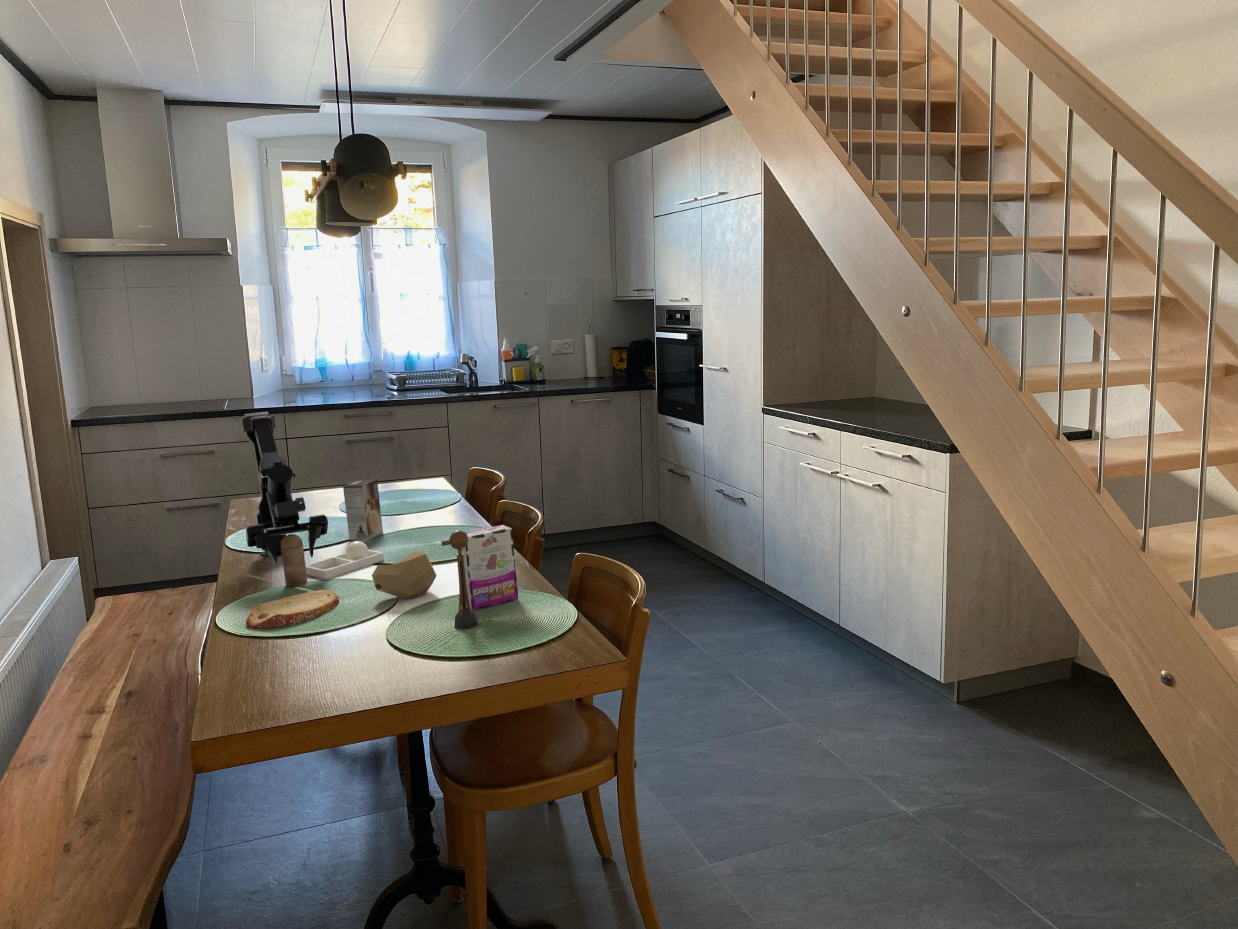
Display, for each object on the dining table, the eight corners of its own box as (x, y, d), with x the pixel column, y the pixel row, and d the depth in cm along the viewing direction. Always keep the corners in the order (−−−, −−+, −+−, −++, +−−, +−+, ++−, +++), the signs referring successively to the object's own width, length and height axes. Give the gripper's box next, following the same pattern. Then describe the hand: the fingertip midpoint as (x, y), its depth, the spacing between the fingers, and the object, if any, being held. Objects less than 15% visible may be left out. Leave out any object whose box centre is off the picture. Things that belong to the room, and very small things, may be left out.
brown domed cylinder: (281, 585, 219) (275, 535, 216) (299, 579, 222) (293, 530, 220) (293, 588, 216) (287, 538, 213) (311, 582, 219) (305, 533, 217)
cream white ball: (342, 563, 233) (340, 542, 232) (360, 558, 237) (358, 537, 236) (356, 566, 229) (353, 545, 228) (373, 560, 234) (371, 540, 233)
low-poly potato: (449, 588, 210) (417, 560, 215) (448, 557, 203) (416, 529, 208) (396, 623, 201) (365, 593, 206) (394, 591, 194) (361, 561, 199)
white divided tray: (303, 575, 226) (302, 566, 225) (361, 557, 240) (360, 548, 239) (326, 581, 220) (324, 571, 220) (384, 561, 234) (383, 552, 234)
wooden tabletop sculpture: (453, 631, 181) (444, 535, 178) (446, 625, 185) (437, 531, 182) (481, 625, 184) (473, 530, 180) (473, 619, 188) (465, 526, 184)
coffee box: (363, 532, 267) (357, 479, 264) (383, 532, 266) (378, 478, 263) (348, 540, 258) (342, 485, 255) (369, 540, 257) (363, 485, 254)
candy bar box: (509, 594, 203) (503, 523, 200) (519, 600, 199) (513, 527, 196) (462, 605, 197) (456, 532, 194) (471, 611, 193) (465, 537, 190)
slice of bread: (341, 597, 208) (340, 582, 208) (331, 624, 191) (329, 607, 190) (260, 605, 205) (258, 590, 205) (242, 633, 188) (240, 616, 187)
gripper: (241, 493, 214) (253, 548, 206) (322, 482, 222) (336, 534, 215) (241, 519, 222) (253, 573, 215) (319, 507, 231) (333, 559, 223)
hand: (294, 559), depth 217 cm, fingers open, 8 cm apart
